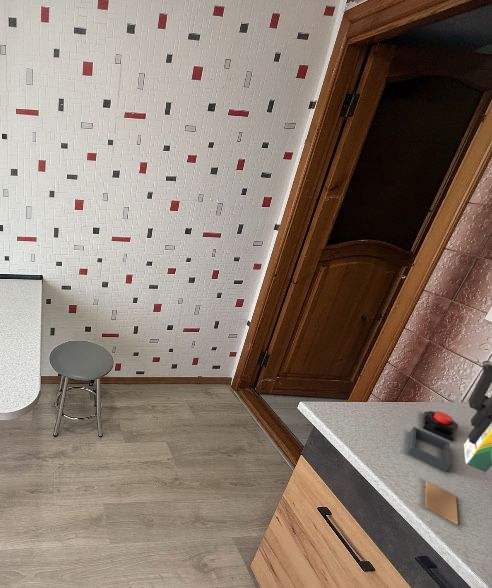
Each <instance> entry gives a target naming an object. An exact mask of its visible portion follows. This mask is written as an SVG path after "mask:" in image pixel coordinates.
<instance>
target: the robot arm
mask: <svg viewBox="0 0 492 588" xmlns="http://www.w3.org/2000/svg"><path fill="white" fill-rule="evenodd" d="M482 371H483V372H482V373H481V375H480V377H479V379H478V381H477V382H476V384H475V387H474V389H473V390H472V392H471V394H470V396H469V398H468V407H469V408H470V409H473V410H474V411H476V412H475V414H474V415H473V416H472V418H471V419H470V425H471V427H473V428H472V430H471V431H470V432H469V434H468V435H467V436H468V438H469V442H470V443H473V444H475V443H476V442H477V440H478V439H479V438H480V437H481V435H482V434H483V433H484V431H485V430H486V429H487V428H488V426H489V425H490V424H491V422H492V395H491V396H490V397H488V398H487V399H486V400H485V401H484V402H483V400H484V399H485V397H486V395H487V393H488V391H489V389H490V387H491V385H492V361H490V360H484V361H482ZM482 402H483V403H482Z"/></svg>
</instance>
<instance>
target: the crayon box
mask: <svg viewBox="0 0 492 588" xmlns="http://www.w3.org/2000/svg"><path fill="white" fill-rule="evenodd" d="M463 450H464V460H465V464H466V465H468V466H471V467H472V468H474V469H476V470H479V471H481V472H483V473H487V472H488V470H489V469H490V468H491V467H492V422H491V424H490V425H489V426H488V428H487V429H486V430H485V431H484V433H483V434H482V435H481V437H480V438H479V439H478V440H477V442H476V443H475V444H473V443H470V442H469V437H468V438H467V440H466V441H465V442H464V443H463Z"/></svg>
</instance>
